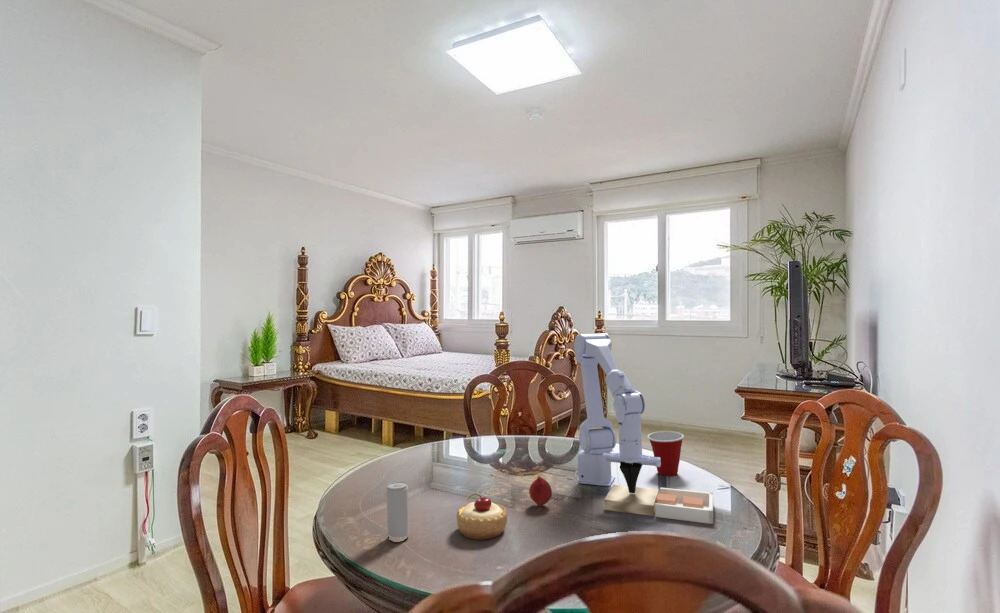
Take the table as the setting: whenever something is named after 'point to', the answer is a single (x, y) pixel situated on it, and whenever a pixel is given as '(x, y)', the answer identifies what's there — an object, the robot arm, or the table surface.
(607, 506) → the board
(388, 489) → the beverage can
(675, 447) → the plastic cup
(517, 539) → the table surface
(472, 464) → the table surface
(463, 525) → the pastry
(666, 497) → the tile
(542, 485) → the onion
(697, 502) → the tile
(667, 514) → the tray
